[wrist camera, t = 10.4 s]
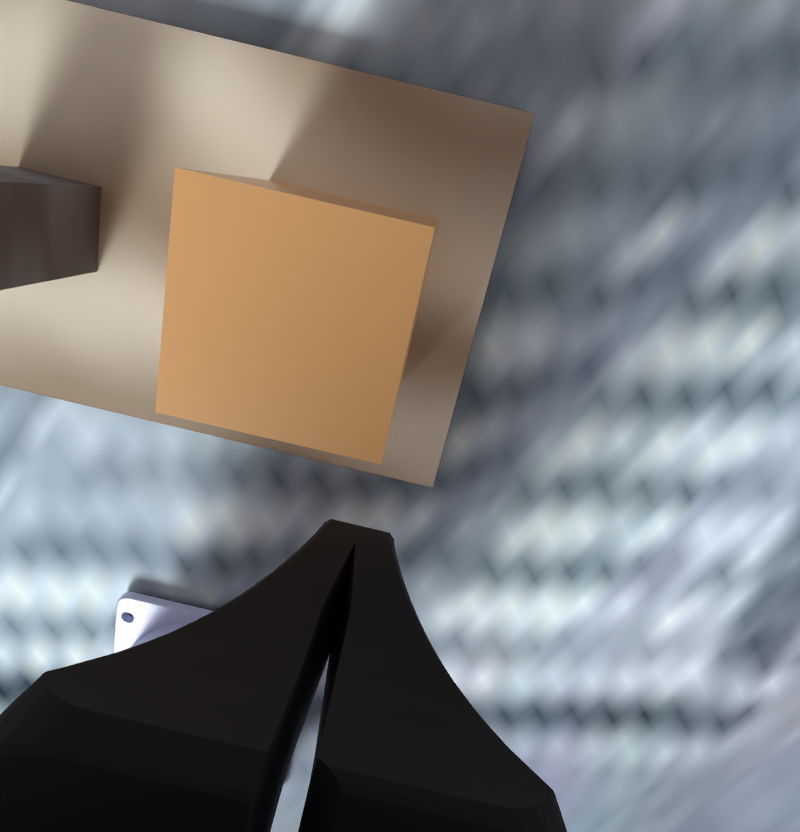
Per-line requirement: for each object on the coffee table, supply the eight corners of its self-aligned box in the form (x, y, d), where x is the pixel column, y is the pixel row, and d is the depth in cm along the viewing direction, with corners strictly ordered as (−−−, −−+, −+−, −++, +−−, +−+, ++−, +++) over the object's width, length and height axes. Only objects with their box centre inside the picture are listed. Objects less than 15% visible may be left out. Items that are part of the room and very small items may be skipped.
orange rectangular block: (401, 382, 20) (380, 464, 13) (246, 346, 20) (155, 411, 13) (438, 219, 18) (434, 227, 12) (269, 180, 18) (174, 167, 12)
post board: (433, 477, 22) (428, 570, 16) (-55, 361, 21) (-225, 415, 16) (531, 117, 18) (569, 78, 12) (-71, -29, 17) (-307, -135, 12)
